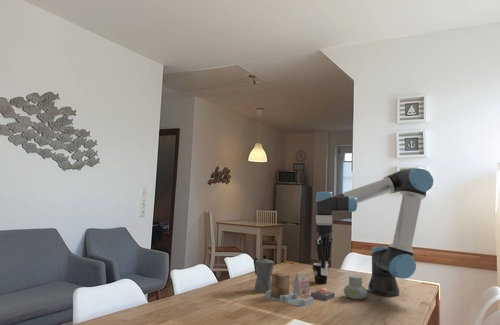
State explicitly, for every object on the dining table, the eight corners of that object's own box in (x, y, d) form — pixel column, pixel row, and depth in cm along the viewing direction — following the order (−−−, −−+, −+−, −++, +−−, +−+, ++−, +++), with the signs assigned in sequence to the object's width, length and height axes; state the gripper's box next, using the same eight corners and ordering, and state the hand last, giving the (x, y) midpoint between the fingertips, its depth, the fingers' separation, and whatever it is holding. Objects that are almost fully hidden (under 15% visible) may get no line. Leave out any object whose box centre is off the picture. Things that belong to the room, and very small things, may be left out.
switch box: (334, 299, 170) (334, 292, 171) (326, 302, 164) (326, 295, 165) (319, 296, 175) (319, 289, 176) (310, 299, 169) (311, 292, 169)
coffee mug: (329, 284, 200) (330, 266, 201) (314, 284, 200) (314, 265, 201) (325, 280, 212) (326, 262, 213) (311, 279, 212) (311, 261, 213)
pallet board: (316, 303, 162) (316, 296, 162) (302, 309, 153) (302, 302, 153) (277, 294, 175) (277, 288, 175) (262, 299, 166) (262, 292, 166)
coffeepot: (279, 295, 174) (280, 256, 176) (263, 297, 169) (264, 257, 171) (260, 287, 187) (262, 252, 189) (245, 289, 182) (246, 252, 184)
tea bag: (293, 295, 175) (293, 273, 176) (303, 293, 179) (303, 272, 180) (298, 296, 172) (299, 275, 173) (308, 295, 176) (309, 274, 177)
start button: (328, 297, 170) (328, 288, 171) (324, 299, 167) (324, 290, 167) (320, 296, 173) (321, 287, 173) (316, 297, 170) (317, 288, 170)
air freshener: (369, 298, 175) (369, 276, 176) (364, 302, 168) (365, 279, 169) (346, 294, 181) (346, 273, 182) (341, 298, 174) (341, 276, 175)
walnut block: (288, 297, 166) (289, 275, 167) (284, 299, 163) (284, 276, 164) (276, 294, 171) (276, 272, 172) (271, 296, 167) (271, 274, 168)
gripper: (323, 223, 181) (323, 272, 178) (310, 224, 170) (310, 276, 168) (337, 224, 176) (337, 274, 174) (324, 225, 166) (325, 278, 164)
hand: (324, 275), depth 171 cm, fingers closed
